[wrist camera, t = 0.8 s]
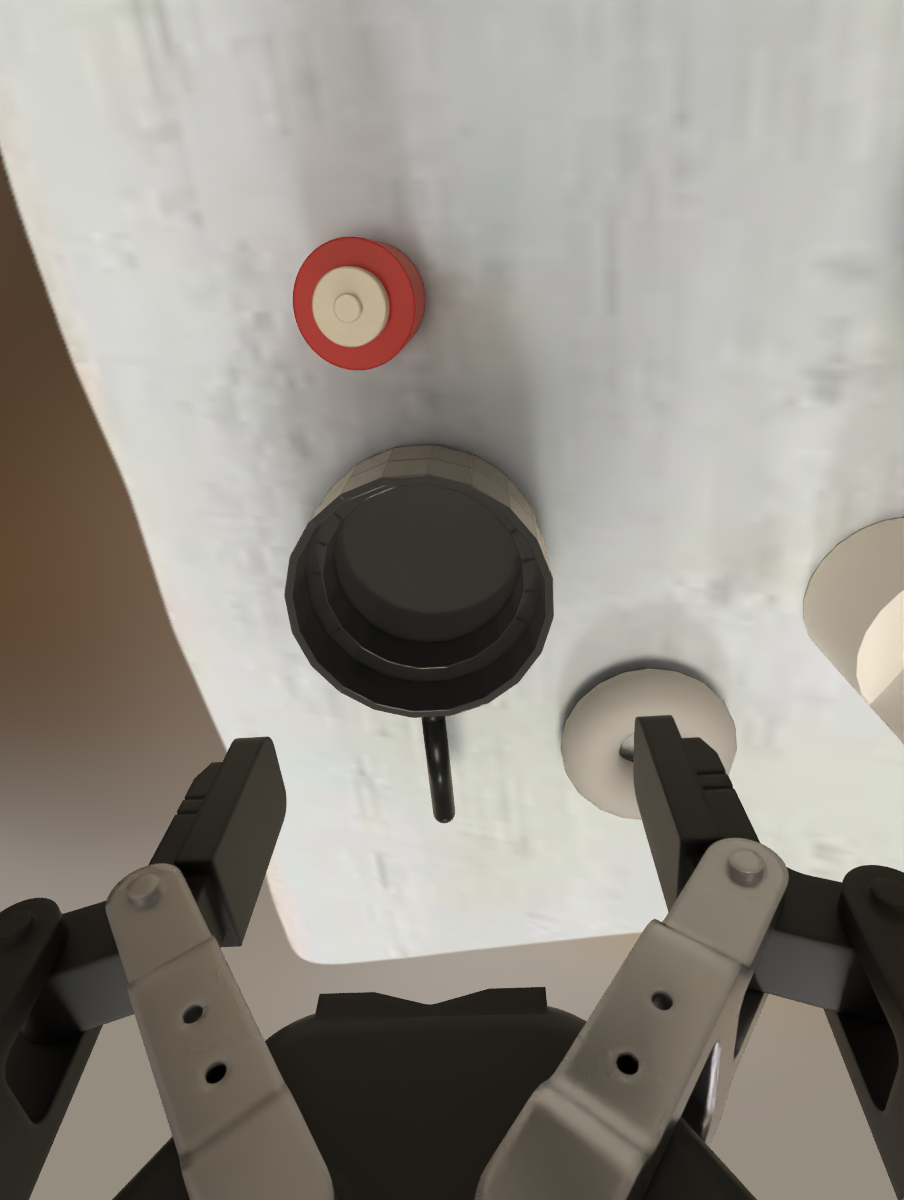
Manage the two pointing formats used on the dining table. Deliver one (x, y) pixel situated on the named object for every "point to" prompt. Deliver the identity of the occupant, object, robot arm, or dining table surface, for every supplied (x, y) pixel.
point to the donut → (612, 721)
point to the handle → (439, 768)
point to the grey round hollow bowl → (421, 583)
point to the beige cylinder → (864, 616)
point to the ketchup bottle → (358, 302)
